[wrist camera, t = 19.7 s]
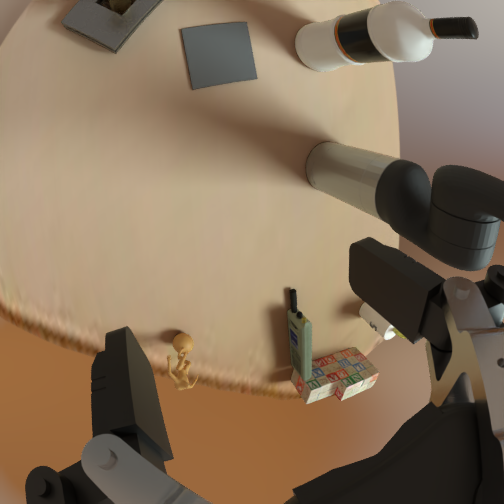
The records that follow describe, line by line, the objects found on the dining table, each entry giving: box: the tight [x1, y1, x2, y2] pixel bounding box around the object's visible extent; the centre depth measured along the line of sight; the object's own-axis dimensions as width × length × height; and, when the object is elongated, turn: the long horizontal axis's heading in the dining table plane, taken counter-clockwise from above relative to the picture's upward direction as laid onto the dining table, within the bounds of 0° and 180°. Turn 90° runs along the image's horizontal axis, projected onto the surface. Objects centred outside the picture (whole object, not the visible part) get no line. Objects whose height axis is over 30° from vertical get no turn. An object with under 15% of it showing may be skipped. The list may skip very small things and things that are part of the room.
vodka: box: [295, 1, 479, 72], centre depth 27 cm, size 9×9×30 cm
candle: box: [359, 302, 407, 340], centre depth 67 cm, size 6×6×15 cm
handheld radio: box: [287, 289, 312, 381], centre depth 63 cm, size 7×3×25 cm
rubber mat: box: [181, 22, 257, 90], centre depth 35 cm, size 10×10×1 cm
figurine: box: [167, 333, 198, 390], centre depth 49 cm, size 8×6×12 cm
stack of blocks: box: [291, 347, 380, 404], centre depth 72 cm, size 21×6×12 cm, turn 84°
